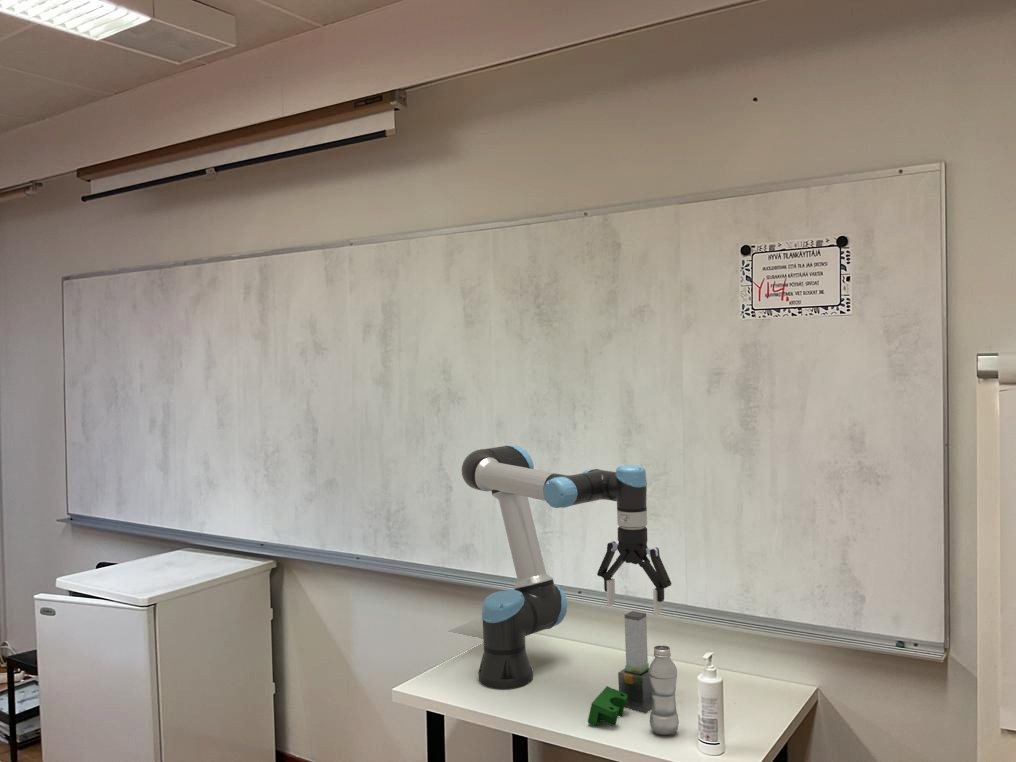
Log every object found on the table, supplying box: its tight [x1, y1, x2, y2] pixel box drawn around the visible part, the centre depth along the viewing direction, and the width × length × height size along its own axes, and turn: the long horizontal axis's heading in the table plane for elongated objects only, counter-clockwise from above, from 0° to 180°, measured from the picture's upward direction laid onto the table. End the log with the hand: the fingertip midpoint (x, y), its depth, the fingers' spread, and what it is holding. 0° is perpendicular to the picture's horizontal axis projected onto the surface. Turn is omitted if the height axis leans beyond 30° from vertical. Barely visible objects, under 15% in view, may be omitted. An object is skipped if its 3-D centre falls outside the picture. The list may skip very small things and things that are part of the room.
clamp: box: [587, 685, 628, 727], centre depth 202 cm, size 12×6×9 cm, turn 149°
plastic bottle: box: [649, 644, 680, 736], centre depth 193 cm, size 6×7×20 cm
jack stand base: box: [617, 668, 652, 714], centre depth 211 cm, size 10×10×8 cm
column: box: [624, 610, 650, 676], centre depth 211 cm, size 4×4×15 cm
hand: (634, 609), depth 211 cm, fingers open, 13 cm apart
